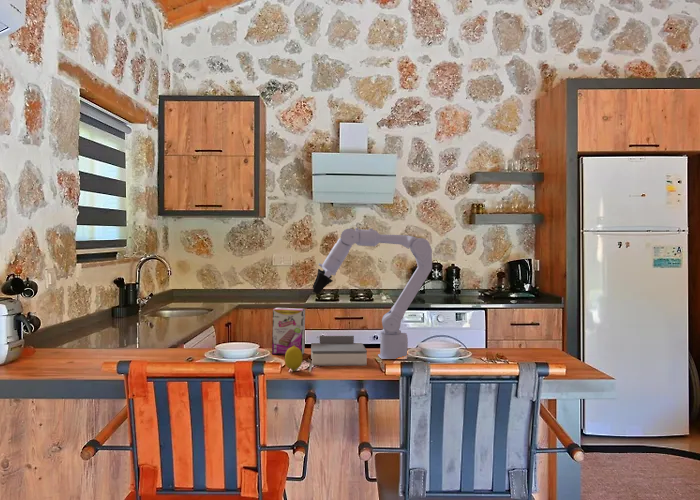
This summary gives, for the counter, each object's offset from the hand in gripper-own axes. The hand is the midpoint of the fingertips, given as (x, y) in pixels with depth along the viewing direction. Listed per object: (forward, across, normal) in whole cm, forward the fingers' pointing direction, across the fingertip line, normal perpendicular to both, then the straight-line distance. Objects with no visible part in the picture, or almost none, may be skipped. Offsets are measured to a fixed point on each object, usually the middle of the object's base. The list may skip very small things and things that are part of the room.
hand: (315, 290), depth 200 cm
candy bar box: (+25, -3, +4) cm, 26 cm away
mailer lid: (+11, +10, +16) cm, 22 cm away
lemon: (+22, +24, +5) cm, 33 cm away
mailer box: (+15, +10, +18) cm, 26 cm away
